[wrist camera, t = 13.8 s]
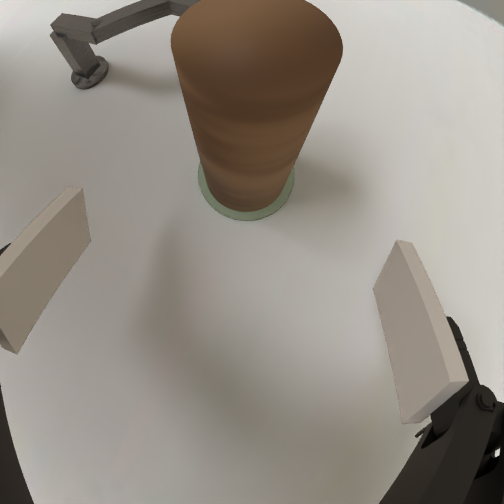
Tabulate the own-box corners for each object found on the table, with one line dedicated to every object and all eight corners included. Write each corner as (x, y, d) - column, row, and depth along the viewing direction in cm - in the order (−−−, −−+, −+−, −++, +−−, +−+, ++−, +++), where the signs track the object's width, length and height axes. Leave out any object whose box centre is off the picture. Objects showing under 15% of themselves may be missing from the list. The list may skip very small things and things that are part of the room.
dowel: (191, 160, 19) (147, 18, 7) (260, 126, 20) (282, -23, 8) (230, 226, 19) (220, 127, 7) (300, 188, 19) (375, 66, 7)
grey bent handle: (65, 97, 20) (25, 47, 13) (81, 61, 21) (50, 9, 13) (247, 98, 20) (252, 28, 13) (253, 60, 21) (259, -9, 14)
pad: (180, 191, 19) (179, 189, 19) (230, 119, 20) (230, 116, 20) (264, 238, 19) (264, 237, 19) (308, 160, 20) (310, 158, 20)
